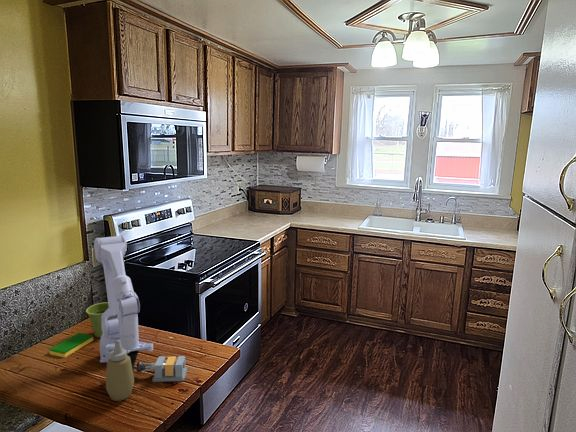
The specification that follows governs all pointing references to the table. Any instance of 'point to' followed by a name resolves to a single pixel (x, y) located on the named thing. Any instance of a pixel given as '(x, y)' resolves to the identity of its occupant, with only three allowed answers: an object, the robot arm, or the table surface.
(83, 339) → the dish sponge
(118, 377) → the squeeze bottle
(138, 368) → the shaft
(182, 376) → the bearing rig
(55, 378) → the table surface
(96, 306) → the plant pot
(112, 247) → the robot arm
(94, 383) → the table surface
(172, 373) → the block
